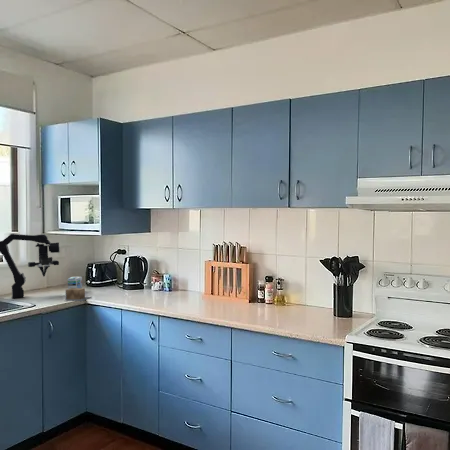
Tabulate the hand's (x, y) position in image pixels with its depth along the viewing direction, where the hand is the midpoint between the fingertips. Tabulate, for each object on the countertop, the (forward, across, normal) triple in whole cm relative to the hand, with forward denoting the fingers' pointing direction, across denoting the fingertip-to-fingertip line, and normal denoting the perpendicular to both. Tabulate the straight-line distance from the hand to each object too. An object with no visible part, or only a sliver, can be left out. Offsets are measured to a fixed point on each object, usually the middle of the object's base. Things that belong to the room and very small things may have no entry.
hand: (43, 276), depth 304 cm
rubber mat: (+13, +16, -25) cm, 33 cm away
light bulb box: (+13, +20, -1) cm, 24 cm away
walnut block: (+10, +11, -21) cm, 25 cm away
